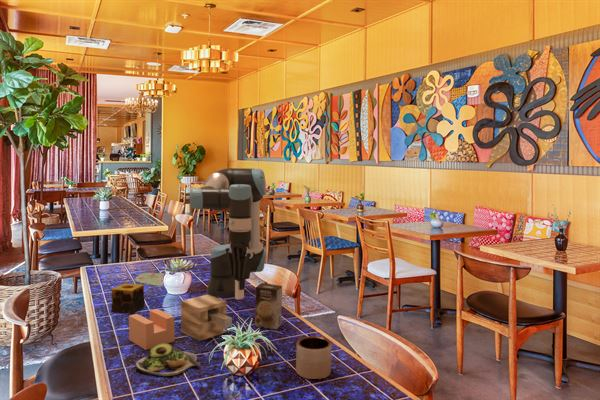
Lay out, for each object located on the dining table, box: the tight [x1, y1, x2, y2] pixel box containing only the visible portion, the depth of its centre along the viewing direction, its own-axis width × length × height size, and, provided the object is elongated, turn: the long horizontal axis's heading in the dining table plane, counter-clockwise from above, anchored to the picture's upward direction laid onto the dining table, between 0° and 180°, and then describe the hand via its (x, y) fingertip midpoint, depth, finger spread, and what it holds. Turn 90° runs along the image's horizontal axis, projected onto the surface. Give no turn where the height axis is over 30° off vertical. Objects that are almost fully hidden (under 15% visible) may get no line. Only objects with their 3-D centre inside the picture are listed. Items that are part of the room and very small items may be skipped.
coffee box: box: [254, 282, 283, 330], centre depth 181 cm, size 9×6×16 cm
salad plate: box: [135, 343, 201, 377], centre depth 147 cm, size 19×18×5 cm
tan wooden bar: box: [208, 309, 233, 329], centre depth 171 cm, size 3×22×3 cm, turn 47°
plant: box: [134, 262, 165, 287], centre depth 247 cm, size 25×21×9 cm
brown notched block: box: [180, 293, 227, 342], centre depth 174 cm, size 12×12×12 cm
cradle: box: [128, 308, 176, 351], centre depth 165 cm, size 11×12×9 cm
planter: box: [295, 335, 332, 380], centre depth 143 cm, size 11×11×10 cm
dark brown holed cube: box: [111, 283, 146, 315], centre depth 198 cm, size 10×10×10 cm
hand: (239, 298), depth 158 cm, fingers closed
